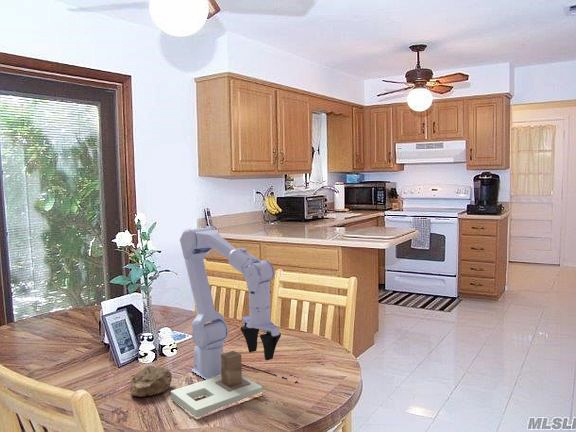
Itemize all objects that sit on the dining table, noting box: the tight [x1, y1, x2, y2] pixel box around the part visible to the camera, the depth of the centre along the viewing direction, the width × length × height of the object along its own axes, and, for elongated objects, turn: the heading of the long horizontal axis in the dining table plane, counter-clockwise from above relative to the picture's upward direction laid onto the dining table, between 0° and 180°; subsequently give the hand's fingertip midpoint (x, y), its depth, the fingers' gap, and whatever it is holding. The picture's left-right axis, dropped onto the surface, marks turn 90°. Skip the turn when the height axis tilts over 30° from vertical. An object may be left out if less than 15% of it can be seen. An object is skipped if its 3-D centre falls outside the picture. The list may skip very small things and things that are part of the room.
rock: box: [129, 365, 173, 398], centre depth 134 cm, size 13×11×5 cm
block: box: [221, 350, 243, 387], centre depth 131 cm, size 4×4×8 cm
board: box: [170, 375, 264, 417], centre depth 128 cm, size 14×20×3 cm
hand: (260, 355), depth 131 cm, fingers open, 7 cm apart
